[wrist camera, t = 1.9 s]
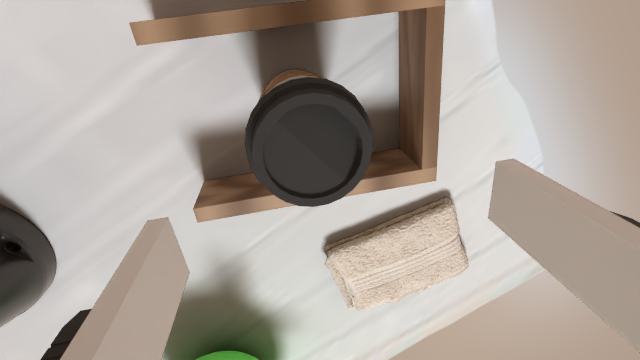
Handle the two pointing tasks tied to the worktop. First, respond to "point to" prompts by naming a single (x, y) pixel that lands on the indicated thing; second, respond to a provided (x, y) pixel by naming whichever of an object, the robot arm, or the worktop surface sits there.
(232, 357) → the toy bird
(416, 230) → the washcloth
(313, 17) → the u-shaped wooden frame
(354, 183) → the coffee cup
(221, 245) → the worktop surface
